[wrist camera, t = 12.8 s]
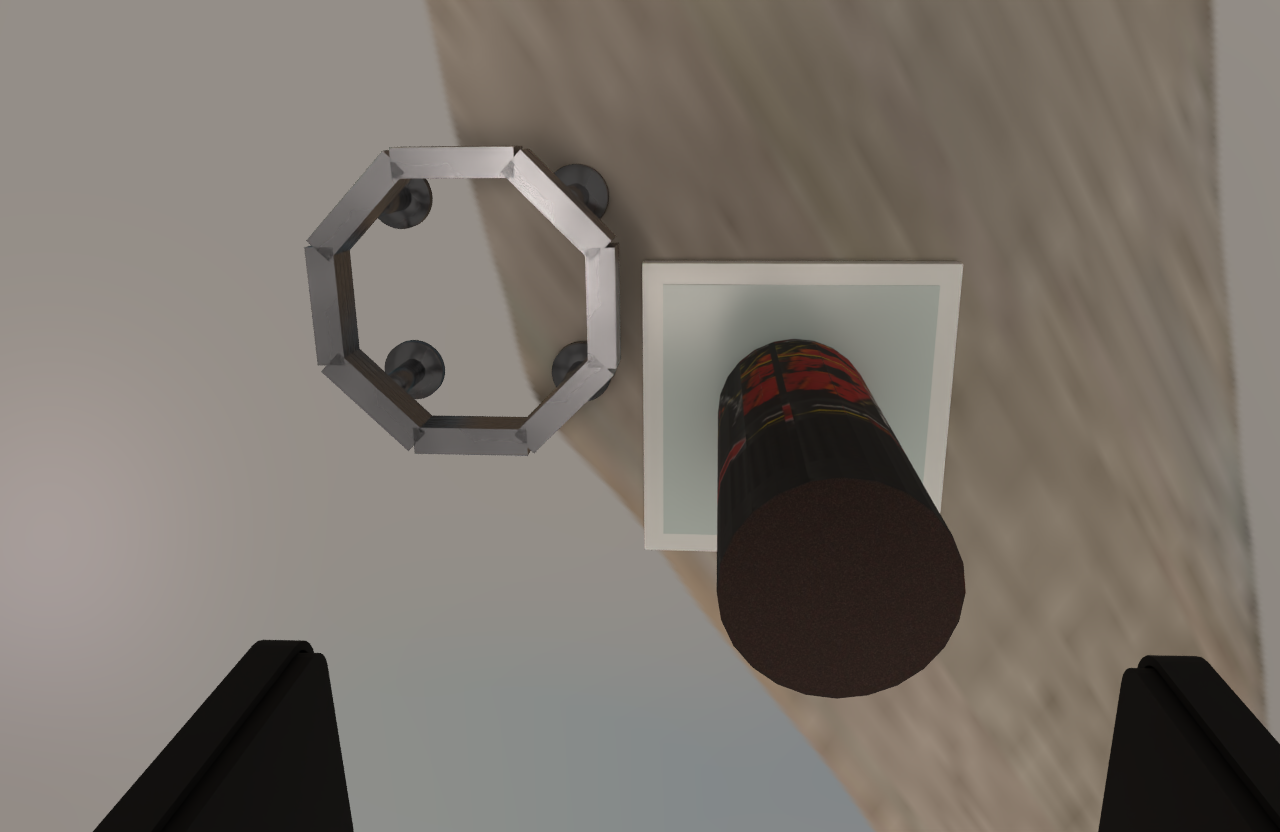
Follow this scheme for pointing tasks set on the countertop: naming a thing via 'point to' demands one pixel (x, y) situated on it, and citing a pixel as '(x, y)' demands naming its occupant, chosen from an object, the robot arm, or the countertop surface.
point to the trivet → (774, 311)
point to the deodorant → (826, 530)
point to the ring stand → (416, 366)
